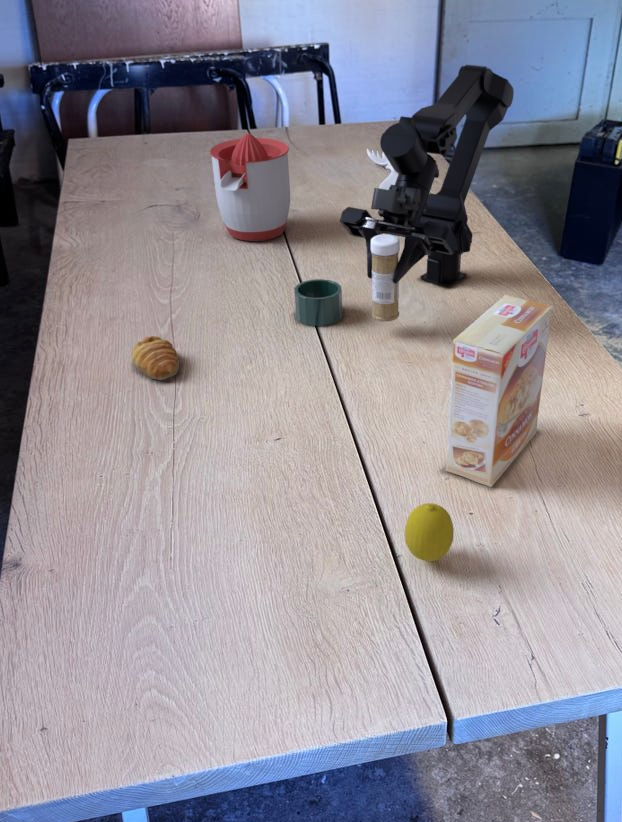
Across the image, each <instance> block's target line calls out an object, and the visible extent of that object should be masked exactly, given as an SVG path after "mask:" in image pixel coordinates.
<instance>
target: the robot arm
mask: <svg viewBox="0 0 622 822" xmlns="http://www.w3.org/2000/svg"><path fill="white" fill-rule="evenodd" d="M514 91H515V90H514V87H513V85H512V84H511V83H510V81H509V80H508V79H507V78H505V77H503V76H500V75H499V74H497V73H495V72H494V71H493V70H492V69H491V68H489V67H487V66H484V65H475V64H465V65H461V66H460V68H459V70H458V74H457V76H456V77H455V79H454V80H453V81H452V82H451V84H450V85H449V86H448V87H447V88H446V89H445V91H444V92H443V93H442V94H441V95H440V97H439V98H438V99H437V101H436V102H435V103H434V104H431V105H428V106H424V107H421V108H420V109H419V110H417V111H416V112H415V113H414V114H412V116H411V117H410V116H400V118H399V121H398V122H396V123H394V124H392V125H389V127H388V128H387V129H385V131H384V132H383V133H382V134H381V137H380V140H379V144H380V146H379V147H380V150H381V151H382V153H383V152H384V154H385V156H386V157H387V159H388V160H389V162H390V164H391V165H392V167H393V168H394V170H395V171H396V172H397V173H398V177H397V180H396V183H395V185H391V186H390V187H389V190H386V189H380V188H379V187H374V189H373V194H372V200H371V207H370V209H371V210H376V211H377V214H378V215H379V217H381V218H382V219H376V218H373V217H372V215H371V213H370V212H369V211H368V210H367V209H364V208H363V209H362V208H356V207H352V206H348V207H346V208H344V209H343V211H341V215H340V218H339V219H338V220H339V223H340V224H341V225H342V226H343V227H344V229H345V230H346V232H347V233H349V235H350V236H353V237H354V238H360V239H364V240H365V247H366V272H367V273H366V276H367V278H368V279H371V280H372V254H371V239H372V238H373V237H374V236H377V235H381V234H389V235H394V236H396V237H400V238H401V237H402V238H404V241H403V242H404V245H403V248H402V252H401V254H400V257H399V258H398V265H397V267H396V270H395V273H394V277H393V283H395V284H397V283H398V282H399V283H400V281H401V280H402V279H403V277H405V276H406V274H407V273H408V272H409V271H410V270H411V269H412V268H413V267H414V266H415V265H416V264H418V263H419V261H421V260H422V259H423V258H424V257H426V256H427V258H426V272H425V273H424V274H422V275H420V276H419V277H420V280H421V281H425V282H428V283H432V284H435V285H437V286H439V287H440V286H441V287H443V288H450V287H452V286H454V285H455V284H457V283H459V282H460V281H462V280H464V279H466V278H467V276H468V274H467V273H466V272H462V271H461V264H462V263H461V262H462V261H461V260H462V255H463V254H465V253H469V252H471V246H472V243H473V232H472V231H471V229H470V227H469V225H468V220H469V218H468V214H467V213H468V212H467V209H466V205H465V202H466V199H467V197H468V194H469V190H470V188H471V185H472V183H473V180H474V176H475V173H476V170H477V168H478V165H479V162H480V159H481V156H482V154H483V152H484V148H485V145H486V143H487V140H488V137H489V135H490V132H491V131H492V130H493V129H494V128H495V127H496V126H498V125H499V124H500V123H501V122H502V121H504V118H505V116H506V114H507V112H508V110H509V108H510V107H512V105H513V100H514V95H515V94H514ZM464 117H465V120H464V123H463V126H462V128H461V131H460V134H459V137H458V134H457V132H458V131H457V127H458V125H459V123H460V122H461V121H462V119H463V118H464ZM457 139H458V140H457ZM456 141H457V143H456ZM455 143H456V146H455ZM454 146H455V149H454V151H453V154H452V157H451V160H450V162H449V165H448V168H447V170H446V173H445V177H444V180H443V182H442V185H441V187H440V190H439V191H438V192H436V193H431V190H432V187H433V184H434V181H435V179H438V178H439V177H440V170H439V166H438V164H437V159H434V157H433V156H432V155H431V154H434V155H440V156H441V155H442V156H446V155H448V154H449V152H450V151H451V150H452V149H453V148H454Z"/></svg>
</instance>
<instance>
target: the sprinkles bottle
mask: <svg viewBox="0 0 622 822" xmlns="http://www.w3.org/2000/svg"><path fill="white" fill-rule="evenodd" d="M400 244H401V243H400V238H399V236H395V235H390V234H385V233H383V234H381V235H377V236H374V237H373V238H372V239H371V254H372V278H371V298H372V313H371V317H372V318H373V319H374V320H375V321H377V322H385V323H386V322H387V323H388V322H393V321H395V320H398V318H399V317H400V310H399V298H400V281H399V282H398V283H397V284H395V283H393V277H394V273H395V270H396V267H397V265H398V262H399V253H400V250H401V249H400V247H401V245H400Z"/></svg>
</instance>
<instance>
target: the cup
mask: <svg viewBox="0 0 622 822" xmlns="http://www.w3.org/2000/svg"><path fill="white" fill-rule="evenodd" d="M293 291H294V304H295V305H294V306H295V319H296V320H297V321H298V322H299V323H300V324H303V325H306V326H311V327H325V326H330V325H333V324H334V325H335V323H336V324H337V322H339V321H341V319H342V318H343V291H342V286H341V285H340V284H339V283H338V282H336V281H333V280H331V279H324V278H323V279H322V278H317V279H309V280H303V281H302V282H300V283H298V284H296V285H295V287H294V290H293Z"/></svg>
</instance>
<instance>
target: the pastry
mask: <svg viewBox="0 0 622 822" xmlns="http://www.w3.org/2000/svg"><path fill="white" fill-rule="evenodd" d="M131 357H132V359H131V360H132V361H131V362H132V363H133V365H134V366H135V368H136V369H137V370H138V371H139V372H140V373H142V374H143V375H145V376H147V377H149V379H151V380H152V379H153V380H157V381H162V380H165V379H168V378H171V377H174V376H176V375H177V374H178V372H179V370H180V361H179V353H178V352H177V350H176V349H175V348H174V345H173V344H172V343H171V342H170V341H169V340H167V339H162V338H161V337H160V336H156V335H150V336H146V337H144V338H142V339H141V340H140V341H137V342H136V344H135V345H134V346H133V348H132V351H131Z"/></svg>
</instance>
